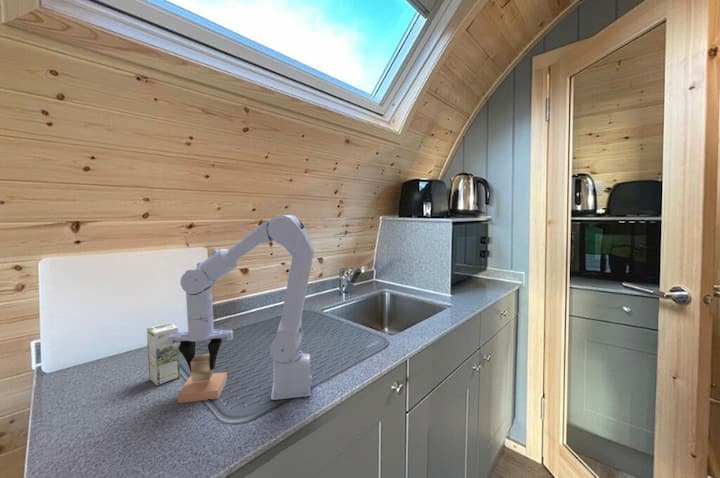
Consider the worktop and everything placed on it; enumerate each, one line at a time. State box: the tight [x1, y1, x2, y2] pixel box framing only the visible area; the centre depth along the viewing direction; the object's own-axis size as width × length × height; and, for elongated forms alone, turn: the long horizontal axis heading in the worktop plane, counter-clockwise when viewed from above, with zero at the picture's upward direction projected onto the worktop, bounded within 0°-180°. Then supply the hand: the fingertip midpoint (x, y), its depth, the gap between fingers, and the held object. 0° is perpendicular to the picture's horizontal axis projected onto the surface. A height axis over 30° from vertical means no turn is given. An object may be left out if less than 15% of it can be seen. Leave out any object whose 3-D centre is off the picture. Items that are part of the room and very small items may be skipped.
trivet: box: [177, 371, 228, 404], centre depth 82 cm, size 9×9×2 cm
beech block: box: [190, 353, 214, 382], centre depth 81 cm, size 4×4×5 cm
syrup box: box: [146, 322, 181, 387], centre depth 87 cm, size 6×6×14 cm
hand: (202, 368), depth 81 cm, fingers closed on beech block, 4 cm apart
